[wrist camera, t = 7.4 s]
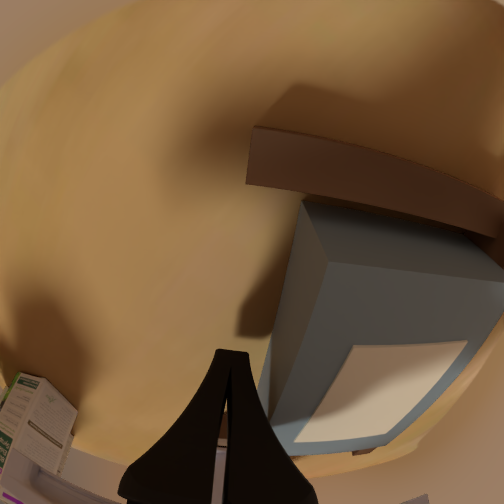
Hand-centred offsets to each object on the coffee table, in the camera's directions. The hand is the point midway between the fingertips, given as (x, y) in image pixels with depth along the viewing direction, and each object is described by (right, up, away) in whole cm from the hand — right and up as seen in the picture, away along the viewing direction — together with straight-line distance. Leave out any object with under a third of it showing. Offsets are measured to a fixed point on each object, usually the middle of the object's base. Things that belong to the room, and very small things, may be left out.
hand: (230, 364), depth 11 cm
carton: (+6, +1, +1) cm, 6 cm away
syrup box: (-20, -9, +7) cm, 23 cm away
